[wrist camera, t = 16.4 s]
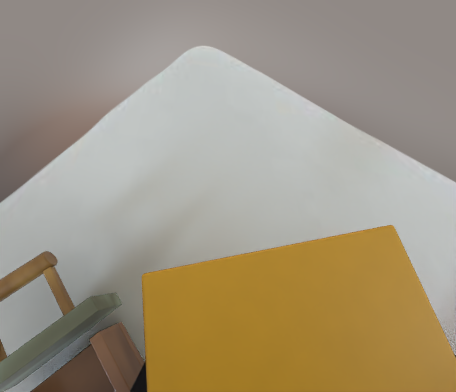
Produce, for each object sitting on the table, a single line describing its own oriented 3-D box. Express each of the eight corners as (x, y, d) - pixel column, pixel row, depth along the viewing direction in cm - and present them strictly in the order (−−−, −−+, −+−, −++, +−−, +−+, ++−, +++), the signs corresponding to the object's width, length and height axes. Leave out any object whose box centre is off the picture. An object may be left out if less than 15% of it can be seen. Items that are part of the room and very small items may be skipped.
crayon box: (285, 341, 14) (585, 622, 3) (210, 360, 13) (162, 820, 2) (266, 263, 15) (395, 222, 4) (198, 277, 15) (139, 273, 4)
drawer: (-12, 310, 19) (-72, 318, 15) (88, 244, 21) (59, 236, 17) (73, 530, 15) (20, 623, 11) (187, 417, 17) (177, 459, 13)
